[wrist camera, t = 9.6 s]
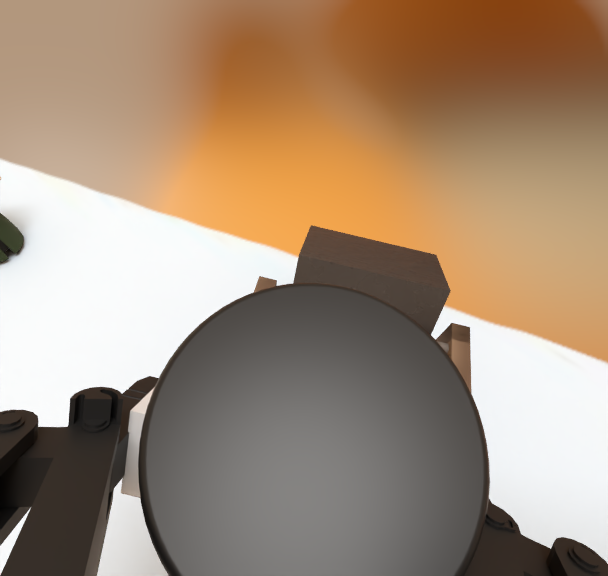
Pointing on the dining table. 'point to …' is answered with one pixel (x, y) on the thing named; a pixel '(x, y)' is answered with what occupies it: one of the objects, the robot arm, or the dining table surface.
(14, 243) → the character mug
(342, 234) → the trapdoor
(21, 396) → the dining table surface
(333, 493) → the jar
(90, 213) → the dining table surface
